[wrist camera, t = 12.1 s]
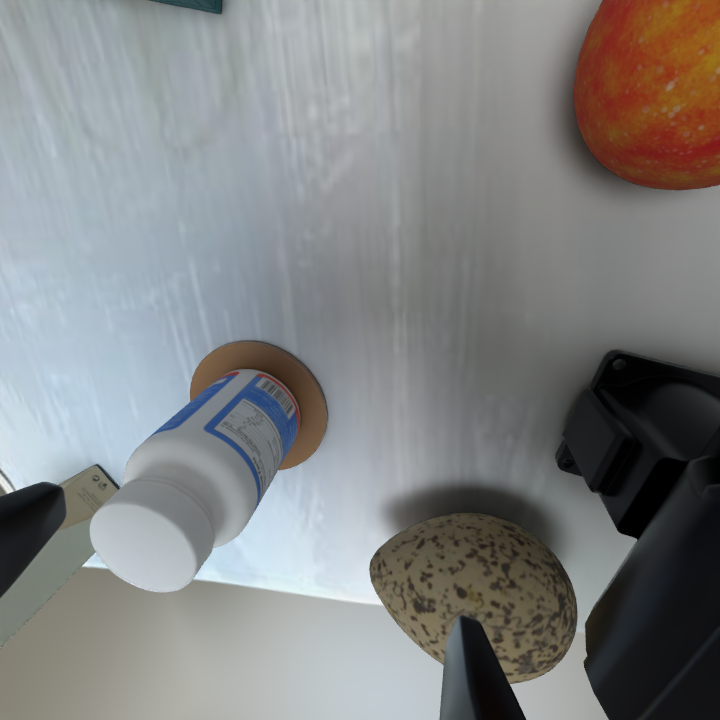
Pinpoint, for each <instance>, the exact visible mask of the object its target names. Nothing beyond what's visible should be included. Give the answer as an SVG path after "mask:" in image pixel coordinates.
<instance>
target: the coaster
mask: <svg viewBox="0 0 720 720" xmlns="http://www.w3.org/2000/svg"><path fill="white" fill-rule="evenodd" d="M239 369H253V370H258V371H262V372H265V373H267V374H269V375H271V376H273V377H274V378H276V379H277V380H279V381H280V382H281V383H283V384H284V385H285V386H286V387H287V388H288V389H289V391H290V392H291V393H292V395H293V396H294V398H295V400H296V402H297V404H298V407H299V411H300V428H299V432H298V435H297V437H296V439H295V441H294V443H293V445H292V447H291V448H290V450H289V452H288V453H287V455H286V457H285V459H284V460H283V462H282V464H281V466H280V467H279V469H278V470H284V469H288V468H291V467H294V466H297V465H299V464H300V463H302V462H304V461H305V460H307V459H308V458H309V457H310V456H311V455H312V454H313V453H314V452H315V451H316V449H317V448H318V447H319V445H320V443H321V441H322V439H323V437H324V434H325V431H326V427H327V407H326V402H325V398H324V395H323V393H322V390H321V388H320V386H319V384H318V383H317V381H316V379H315V378H314V376H313V375H312V374H311V372H310V371H309V370H308V369H307V368H306V367H305V366H304V365H303V364H302V363H301V362H300V361H299V360H297V359H296V358H295V357H294V356H292V355H290V354H289V353H287V352H286V351H284V350H282V349H280V348H277V347H275V346H272V345H269V344H266V343H261V342H255V341H239V342H234V343H229V344H227V345H224V346H221V347H220V348H218V349H216V350H214V351H213V352H211V353H210V354H209V355H208V356H206V357H205V358H204V359H203V360H202V362H201V363H200V364H199V366H198V367H197V369H196V371H195V373H194V375H193V378H192V382H191V388H190V401H192V400H193V399H195V398H196V397H197V396H198V395H199V394H201V393H202V392H203V391H204V390H205V389H206V388H208V387H209V386H210V385H211V384H212V383H213V382H215V381H216V380H217V379H219V378H220V377H222V376H223V375H225V374H227V373H229V372H231V371H234V370H239Z"/></svg>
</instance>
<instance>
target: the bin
mask: <svg viewBox="0 0 720 720" xmlns="http://www.w3.org/2000/svg"><path fill="white" fill-rule="evenodd" d="M150 1H156V2H161V3H166V4H171V5H176V6H181V7H187V8H192V9H197V10H202V11H207V12H213V13H218V14H221V1H222V0H150Z"/></svg>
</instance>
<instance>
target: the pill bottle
mask: <svg viewBox="0 0 720 720" xmlns="http://www.w3.org/2000/svg"><path fill="white" fill-rule="evenodd" d="M299 428H300V411H299V407H298V404H297V402H296V400H295V398H294V396H293V395H292V393H291V392H290V391H289V389H288V388H287V387H286V386H285V385H284V384H283V383H281V382H280V381H279V380H277V379H276V378H274V377H273V376H271V375H269V374H267V373H265V372H262V371H258V370H253V369H239V370H234V371H231V372H229V373H227V374H225V375H223V376H222V377H220V378H219V379H217V380H216V381H215V382H213V383H212V384H211V385H210V386H209V387H208V388H206V389H205V390H204V391H203V392H202V393H201V394H199V395H198V396H197V397H196V398H195V399H193V400H192V401H191V402H190V403H189V404H188V405H187V406H185V407H184V408H183V409H182V410H180V411H179V412H178V413H177V414H176V415H175V416H173V417H172V418H171V419H170V420H169V421H167V422H166V423H165V424H164V425H163V426H162V427H160V428H159V429H158V430H157V431H156V432H155V433H153V434H152V435H151V436H150V437H149V438H147V439H146V440H145V441H144V442H143V443H142V444H141V445H140V446H139V447H138V448H137V449H136V450H135V451H134V452H133V454H132V455H131V457H130V458H129V460H128V462H127V465H126V468H125V471H124V478H123V486H122V487H121V488H120V489H119V490H118V491H117V492H116V493H115V494H114V495H113V496H112V497H111V498H110V499H109V500H108V501H107V502H106V503H105V504H104V505H103V506H102V507H101V508H100V509H99V510H98V511H97V512H96V513H95V514H94V516H93V518H92V520H91V523H90V538H91V542H92V545H93V547H94V549H95V551H96V553H97V555H98V556H99V558H100V559H101V560H102V562H103V563H104V564H105V565H106V566H107V567H108V568H109V569H110V570H111V571H112V572H113V573H115V574H116V575H117V576H119V577H120V578H121V579H123V580H124V581H126V582H128V583H130V584H132V585H134V586H136V587H139V588H142V589H145V590H148V591H152V592H172V591H176V590H179V589H181V588H183V587H185V586H186V585H188V584H189V583H190V582H191V581H192V580H193V578H194V577H195V575H196V574H197V572H198V571H199V569H200V568H201V566H202V565H203V563H204V562H205V561H206V560H207V558H208V557H209V556H210V554H211V551H212V549H213V548H216V547H219V546H222V545H224V544H226V543H228V542H230V541H231V540H233V539H234V538H235V537H237V536H238V535H239V534H240V533H241V532H242V530H243V529H244V528H245V526H246V525H247V523H248V522H249V520H250V518H251V517H252V515H253V513H254V512H255V510H256V508H257V506H258V505H259V503H260V501H261V499H262V498H263V496H264V494H265V492H266V490H267V489H268V487H269V485H270V483H271V482H272V480H273V478H274V476H275V475H276V473H277V471H278V469H279V467H280V466H281V464H282V462H283V460H284V459H285V457H286V455H287V453H288V452H289V450H290V448H291V447H292V445H293V443H294V441H295V439H296V437H297V435H298V432H299Z"/></svg>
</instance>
